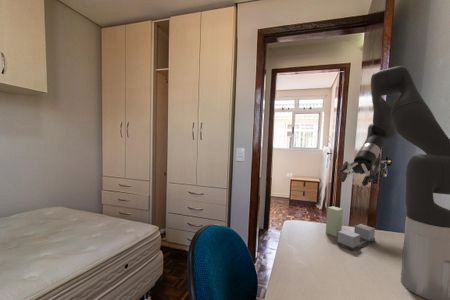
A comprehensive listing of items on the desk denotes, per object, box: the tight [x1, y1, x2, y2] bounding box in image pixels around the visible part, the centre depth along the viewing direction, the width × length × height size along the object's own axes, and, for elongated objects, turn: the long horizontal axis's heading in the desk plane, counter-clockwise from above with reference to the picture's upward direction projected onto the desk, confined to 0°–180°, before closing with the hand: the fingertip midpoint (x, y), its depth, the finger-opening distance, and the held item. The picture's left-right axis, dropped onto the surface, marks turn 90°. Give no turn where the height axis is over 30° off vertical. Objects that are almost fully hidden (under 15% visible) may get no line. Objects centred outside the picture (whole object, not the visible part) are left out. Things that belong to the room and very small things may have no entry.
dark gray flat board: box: [336, 237, 376, 252], centre depth 78 cm, size 6×16×1 cm, turn 124°
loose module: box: [325, 205, 344, 238], centre depth 85 cm, size 4×4×10 cm
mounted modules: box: [337, 223, 376, 248], centre depth 78 cm, size 5×16×4 cm, turn 124°
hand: (352, 182), depth 91 cm, fingers open, 8 cm apart
